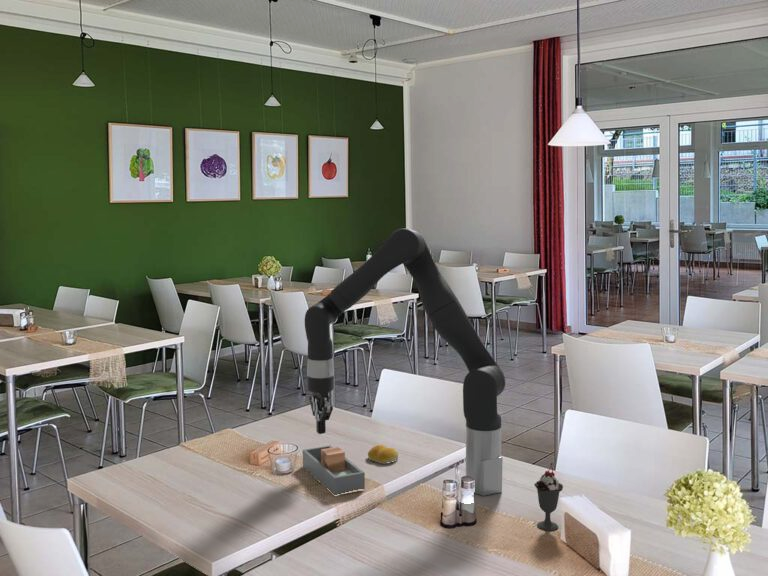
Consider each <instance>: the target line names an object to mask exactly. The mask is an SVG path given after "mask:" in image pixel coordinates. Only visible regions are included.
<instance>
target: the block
mask: <svg viewBox="0 0 768 576" xmlns="http://www.w3.org/2000/svg"><path fill="white" fill-rule="evenodd" d="M332 447H333V446H332ZM345 457H346V452H345V450H342V448H340V447H339V446H334V447H333V448H327V449H321V464H322V465H324V466H325V467H326V468H327V469H328V470H329V471H330V472H335V471H341V470H345Z"/></svg>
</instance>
